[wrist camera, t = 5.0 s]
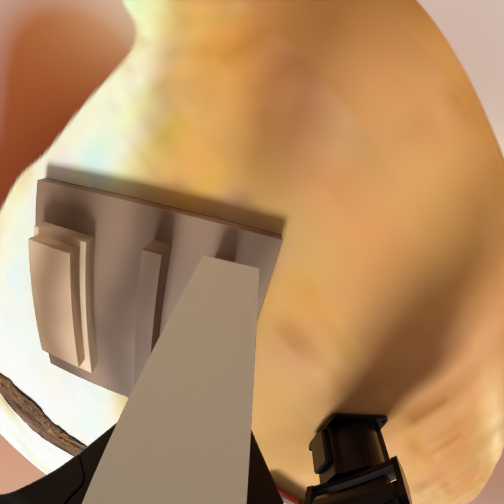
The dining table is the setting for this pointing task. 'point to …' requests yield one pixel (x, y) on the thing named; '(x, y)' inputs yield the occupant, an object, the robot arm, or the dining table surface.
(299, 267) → the dining table surface
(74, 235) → the lower oak offcut
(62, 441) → the wooden fragment
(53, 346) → the upper oak offcut
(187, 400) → the taupe rectangular block
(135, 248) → the walnut rack
